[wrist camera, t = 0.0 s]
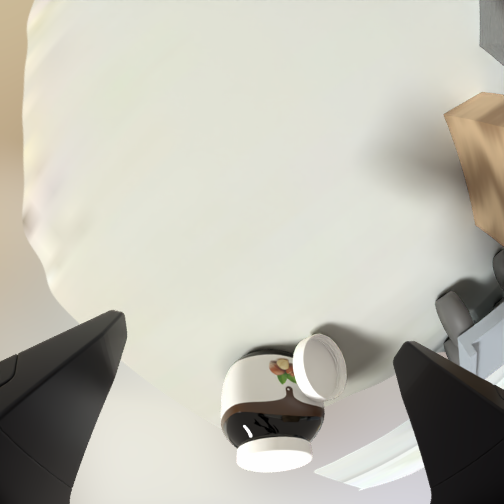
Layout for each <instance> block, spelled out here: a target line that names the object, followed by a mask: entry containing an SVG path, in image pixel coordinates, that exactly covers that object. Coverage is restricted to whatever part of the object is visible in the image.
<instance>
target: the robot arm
mask: <svg viewBox="0 0 504 504" xmlns="http://www.w3.org/2000/svg"><path fill="white" fill-rule="evenodd" d="M126 340H127V328H126V321H125V315H124V313H123V312H119V311H115V310H110V311H108V312H106V313H104V314H101V315H99V316H97V317H95V318H93V319H91V320H89V321H86V322H84V323H82V324H80V325H78V326H76V327H74V328H72V329H69V330H67V331H65V332H63V333H61V334H59V335H57V336H54V337H52V338H50V339H48V340H46V341H44V342H42V343H39V344H37V345H35V346H33V347H31V348H29V349H27V350H25V351H22V352H20V353H19V354H18V355H17V354H15V355H13V356H11V357H9V358H7V359H5V360H3V361H1V362H0V504H70V495H71V491H72V487H73V484H74V481H75V478H76V475H77V472H78V470H79V467H80V464H81V461H82V458H83V456H84V453H85V450H86V447H87V445H88V442H89V439H90V437H91V434H92V432H93V429H94V427H95V424H96V422H97V419H98V417H99V414H100V412H101V409H102V407H103V405H104V402H105V400H106V397H107V395H108V393H109V391H110V388H111V386H112V384H113V381H114V378H115V375H116V373H117V369H118V366H119V363H120V359H121V356H122V353H123V350H124V346H125V343H126ZM393 365H394V369H395V373H396V376H397V380H398V384H399V388H400V392H401V395H402V399H403V401H404V404H405V407H406V410H407V413H408V415H409V419H410V422H411V425H412V428H413V431H414V434H415V437H416V440H417V443H418V446H419V450H420V453H421V456H422V460H423V463H424V467H425V470H426V473H427V477H428V481H429V485H430V488H431V503H430V504H504V390H503V389H501V388H500V387H498V386H496V385H493V384H492V383H490V382H488V381H486V380H484V379H483V378H481V377H479V376H477V375H475V374H473V373H472V372H470V371H468V370H466V369H464V368H463V367H461V366H459V365H457V364H455V363H454V362H452V361H450V360H448V359H446V358H444V357H443V356H441V355H439V354H437V353H435V352H434V351H432V350H430V349H428V348H426V347H425V346H423V345H421V344H419V343H417V342H415V341H407V342H405V343H404V344H403V345H402V346H401V348H400V350H399V351H398V353H397V354H396V356H395V357H394V360H393Z"/></svg>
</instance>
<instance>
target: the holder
mask: <svg viewBox="0 0 504 504" xmlns="http://www.w3.org/2000/svg"><path fill="white" fill-rule="evenodd" d="M480 46H481V47H482V48H483V49H484V50H486V51H487V52H488V53H489V54H491V55H492V56H493V57H494V58H495V59H497V60H498V61H499V62H500V63H501V64H502V65H503V66H504V0H480Z"/></svg>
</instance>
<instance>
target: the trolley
mask: <svg viewBox="0 0 504 504" xmlns="http://www.w3.org/2000/svg"><path fill="white" fill-rule="evenodd" d="M493 268H494V272H495V275H496V278H497V280H498V282H499V284H500V286H501V288H502V289H503V291H504V249H503V250H502V251H501V252H499V253H498V254H497V255H496V256H495V257H494V259H493ZM435 306H436V310H437V313H438V316H439V318H440V321H441V323H442V325H443V327H444V329H445V331H446V333H447V334H448V336H449V338H450V339H449V340H448V341H446V342H445V343H444V349H445V352H446V355H447V357H448V359H449V360H450V361H452V362H454V363H455V364H457V365H459V366H461V367H463V368H464V369H466V370H468V371H470V372H472V373H473V374H475V375H477V376H479V377H481V378H483V379H485V378H487V377H488V376H489V375H491V374H492V373H493V372H495V371H496V370H497V369H498V368H500V367H501V366H502V365H503V364H504V298H502V299H501V300H500V301H499V302H498V303H497V304H495V306H494V310H493V311H492V312H491V313H489V314H488V315H487V316H486V317H484V318H483V319H482V320H481V321H479V322H478V323H477V324H475V325H474V324H473V321H472V318H471V315H470V313H469V311H468V309H467V308H466V306H465V304H464V303H463V301H462V300H461V299H460V297H459V296H458V295H457V294H456V293H455V292H453V291H450V292H448V293H447V294H446V295H444V296H443V297H441V298H440V299H438V300H437V301H436V302H435Z"/></svg>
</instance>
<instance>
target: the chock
mask: <svg viewBox="0 0 504 504" xmlns="http://www.w3.org/2000/svg"><path fill="white" fill-rule="evenodd" d="M443 115H444V117H445V120H446V122H447V125H448V127H449V130H450V133H451V136H452V138H453V141H454V144H455V147H456V150H457V153H458V156H459V159H460V163H461V166H462V170H463V173H464V177H465V180H466V184H467V188H468V192H469V196H470V201H471V205H472V210H473V215H474V220H475V225H476V226H477V227H479V228H480V229H481V230H483V231H484V232H485V233H487V234H488V235H489V236H491V237H492V238H493V239H495V240H496V241H497V242H498V243H500V244H501V245H502V246H503V247H504V95H501V94H494V93H485V92H481V93H479V94H478V95H476V96H474V97H472V98H471V99H469V100H467V101H466V102H464V103H462V104H460V105H459V106H457V107H455V108H454V109H452V110H450V111H448V112H447V113H445V114H443Z"/></svg>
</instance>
